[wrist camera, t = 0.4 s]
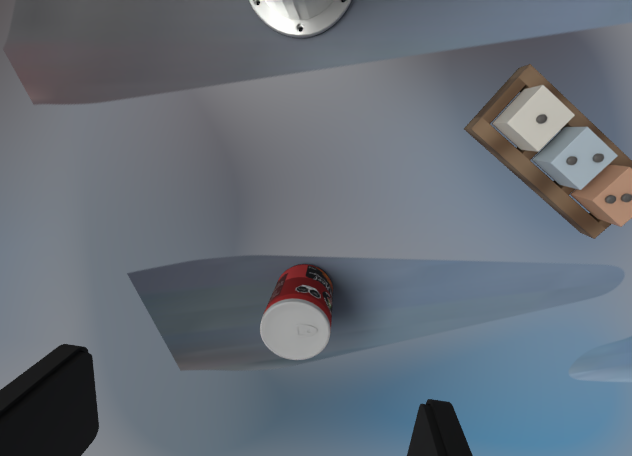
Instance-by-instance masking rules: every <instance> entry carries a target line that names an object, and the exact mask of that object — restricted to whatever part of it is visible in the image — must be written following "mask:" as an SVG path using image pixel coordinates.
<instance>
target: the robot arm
mask: <svg viewBox="0 0 632 456" xmlns="http://www.w3.org/2000/svg"><path fill="white" fill-rule="evenodd" d="M249 2H250V4H251V6H252V8H253V9H254V11H255V12H256V14H257V15H258V16H259V17H260V19H261V20H262V21H263V22H264V23H265V24H266V25H267V26H269V27H270V28H271V29H273V30H274V31H276V32H278V33H280V34H282V35H285V36H289V37H293V38H306V37H311V36H315V35H317V34H320V33H322V32H324V31H326V30H327V29H329V28H330V27H332V26H333V25H334V24H335V23H336V22H337V21H338V20H339V19H340V18H341V17H342V16H343V14H344V13H345V11H346V10H347V8H348V7H349V5H350V2H351V0H346V1H345V2H344V3H343V2H341V0H249ZM257 2H260V4H259V5H257ZM300 28H303V31H302V32H299V29H300ZM98 429H99V422H98V412H97V402H96V391H95V381H94V370H93V360H92V355H91V354H89V353H88V349H87V348H86V347H81V346H75V345H68V344H63V345H60V346H59V347H57V348H56V349H55V350H53V351H52V352H51V353H49V354H48V355H47V356H45V357H44V358H43V359H41V360H40V361H39V362H37V363H36V364H35V365H33V366H32V367H31V368H29V369H28V370H27V371H25V372H24V373H23V374H21V375H20V376H19V377H17V378H16V379H15V380H13V381H12V382H11V383H9V384H8V385H7V386H5V387H4V388H3V389H1V390H0V456H81V455H82V454H83V453H84V451H85V450H86V449H87V448H88V447H89V445H90V444H91V443H92V442H93V440H94V439H95V437H96V435H97V432H98ZM407 456H472V453H471V451H470V448H469V446H468V443H467V441H466V438H465V436H464V433H463V431H462V428H461V426H460V423H459V421H458V418H457V416H456V413H455V411H454V408H453V406H452V404H451V403H450V402H445V401H438V400H432V399H428V400H427V402H426V404H420V407H419V410H418V414H417V418H416V422H415V426H414V430H413V434H412V438H411V442H410V446H409V450H408V454H407Z"/></svg>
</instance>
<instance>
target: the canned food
mask: <svg viewBox="0 0 632 456" xmlns="http://www.w3.org/2000/svg"><path fill="white" fill-rule="evenodd" d="M332 299H333V286H332V283H331V281H330V279H329V277H328V276H327V275H326V273H325V272H324V271H322V270H321V269H319V268H318V267H315V266H313V265H307V264H302V265H296V266H293V267H291V268H290V269H288V270H286V271H285V272H284V273H283V274H282V275H281V277H280V278H279V280H278V282H277V285H276V287H275V289H274V292H273V294H272V296H271V298H270V301H269V303H268V305H267V307H266V310H265V312H264V315H263V317H262V320H261V325H260V333H261V337H262V339H263V341H264V343H265V345H266V346H267V347H268V348H269V349H270V350H271V351H272V352H273V353H275V354H277V355H278V356H281V357H283V358H286V359H291V360H303V359H308V358H311V357H313V356H315V355H317V354H319V353H320V352H321V351H322V350H323V349H324V348H325V347H326V345H327V343H328V341H329V337H330V333H331V318H332Z"/></svg>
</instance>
